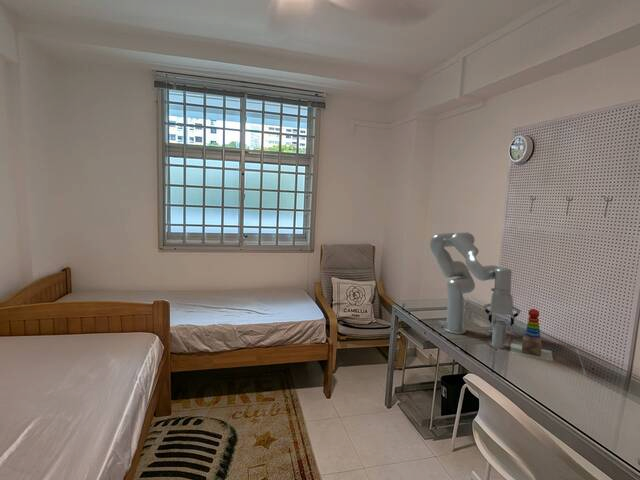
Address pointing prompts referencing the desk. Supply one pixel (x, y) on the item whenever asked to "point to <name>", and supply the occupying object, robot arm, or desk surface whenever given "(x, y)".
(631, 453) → the desk surface
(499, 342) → the energy drink can
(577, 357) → the desk surface
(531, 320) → the stacking toy
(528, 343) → the walnut block
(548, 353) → the base board
